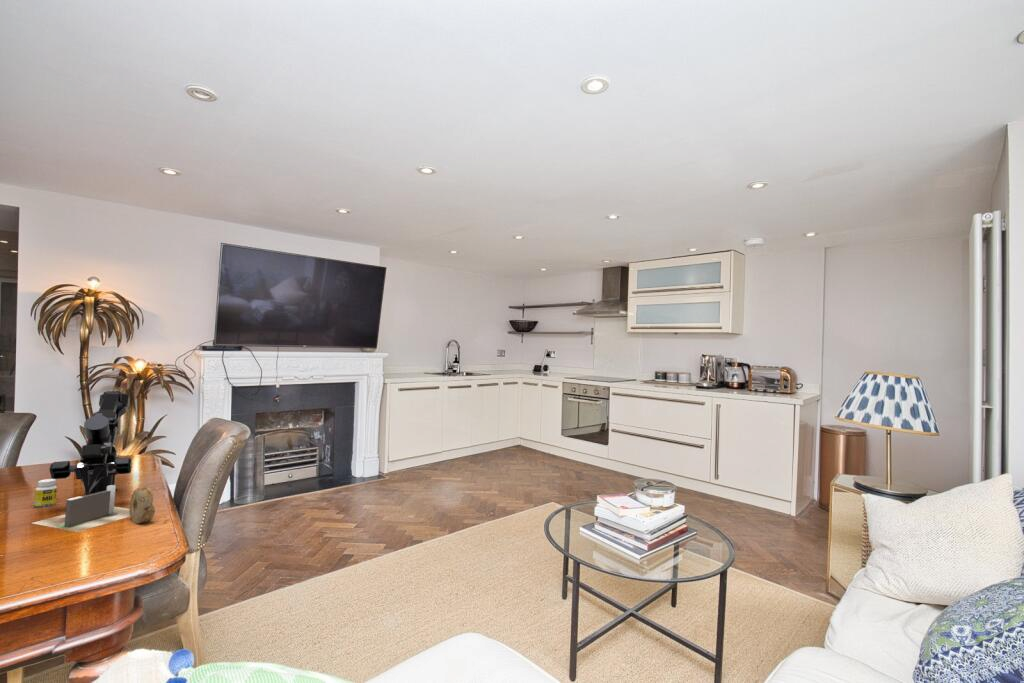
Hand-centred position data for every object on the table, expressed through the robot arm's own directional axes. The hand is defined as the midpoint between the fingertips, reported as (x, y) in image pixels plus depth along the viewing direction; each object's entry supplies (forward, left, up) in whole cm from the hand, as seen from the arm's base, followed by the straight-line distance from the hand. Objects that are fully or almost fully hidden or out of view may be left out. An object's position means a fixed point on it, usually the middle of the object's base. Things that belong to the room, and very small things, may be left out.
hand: (87, 492), depth 138 cm
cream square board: (+2, +5, -7) cm, 9 cm away
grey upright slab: (+3, +8, -6) cm, 10 cm away
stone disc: (-1, +20, -7) cm, 21 cm away
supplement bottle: (0, -18, -7) cm, 19 cm away
